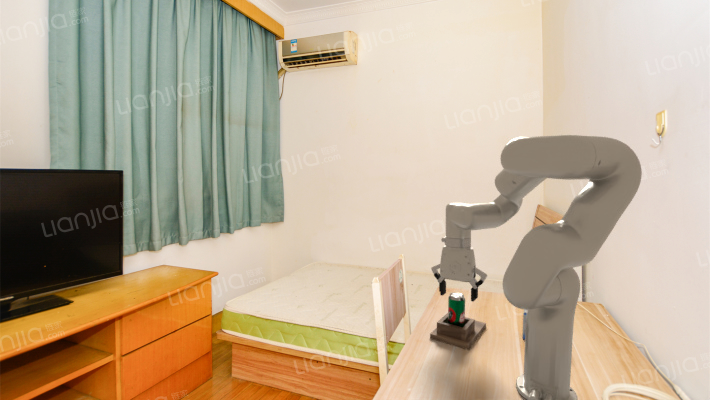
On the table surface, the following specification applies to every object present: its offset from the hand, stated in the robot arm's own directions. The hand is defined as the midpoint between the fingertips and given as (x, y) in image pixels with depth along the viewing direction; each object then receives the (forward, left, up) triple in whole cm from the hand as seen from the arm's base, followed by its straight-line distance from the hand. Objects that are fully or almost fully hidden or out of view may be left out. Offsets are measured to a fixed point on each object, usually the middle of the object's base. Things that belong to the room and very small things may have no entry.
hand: (458, 297), depth 107 cm
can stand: (+3, +1, -13) cm, 13 cm away
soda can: (0, 0, -12) cm, 12 cm away
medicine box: (+13, -20, -13) cm, 28 cm away
